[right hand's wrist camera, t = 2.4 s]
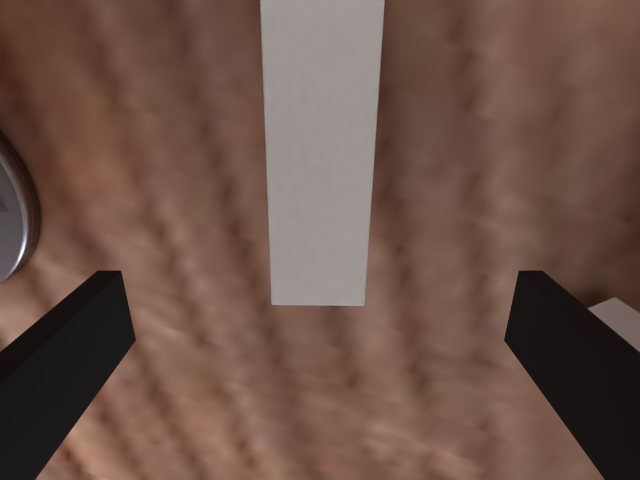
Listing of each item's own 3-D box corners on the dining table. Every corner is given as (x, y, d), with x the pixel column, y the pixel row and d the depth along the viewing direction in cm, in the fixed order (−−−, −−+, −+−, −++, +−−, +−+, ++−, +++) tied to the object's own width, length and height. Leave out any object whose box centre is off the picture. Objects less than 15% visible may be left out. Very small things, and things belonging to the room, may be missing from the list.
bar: (352, 248, 29) (364, 306, 22) (283, 247, 29) (271, 305, 21) (376, -238, 19) (414, -447, 12) (272, -240, 19) (242, -451, 12)
